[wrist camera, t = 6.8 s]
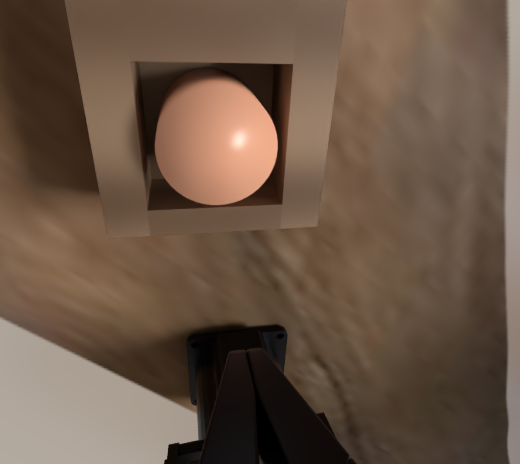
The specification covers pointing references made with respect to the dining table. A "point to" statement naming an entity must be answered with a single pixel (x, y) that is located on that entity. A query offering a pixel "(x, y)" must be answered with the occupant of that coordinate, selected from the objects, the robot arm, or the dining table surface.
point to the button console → (196, 57)
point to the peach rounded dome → (214, 138)
